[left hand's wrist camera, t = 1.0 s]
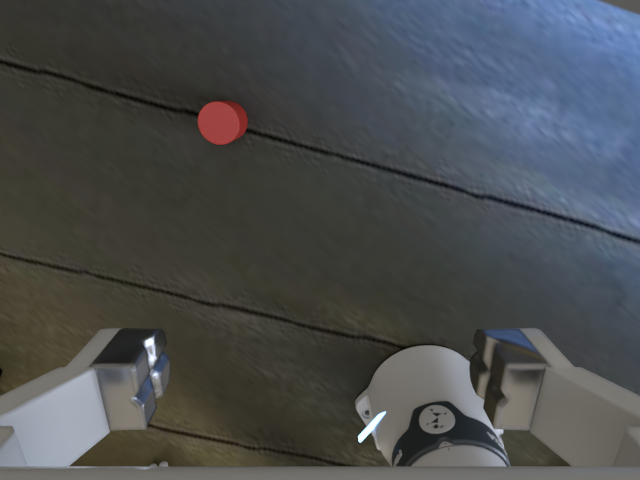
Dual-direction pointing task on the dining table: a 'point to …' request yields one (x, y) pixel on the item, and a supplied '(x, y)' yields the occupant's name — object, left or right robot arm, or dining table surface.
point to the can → (222, 122)
